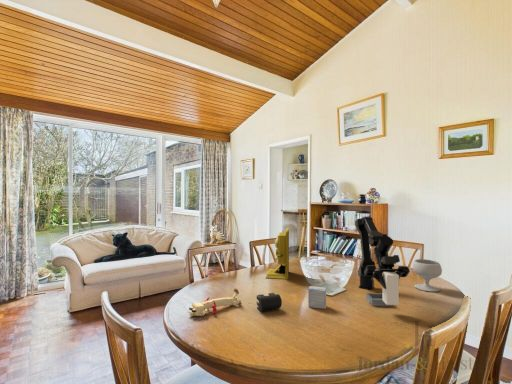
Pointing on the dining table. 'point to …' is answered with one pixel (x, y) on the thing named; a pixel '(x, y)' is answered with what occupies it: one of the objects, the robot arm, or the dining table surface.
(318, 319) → the dining table surface
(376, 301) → the dock tray
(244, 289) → the dining table surface
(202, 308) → the cat figure
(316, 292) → the medicine box
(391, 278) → the block
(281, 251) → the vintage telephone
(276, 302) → the end cap
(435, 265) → the chalice
